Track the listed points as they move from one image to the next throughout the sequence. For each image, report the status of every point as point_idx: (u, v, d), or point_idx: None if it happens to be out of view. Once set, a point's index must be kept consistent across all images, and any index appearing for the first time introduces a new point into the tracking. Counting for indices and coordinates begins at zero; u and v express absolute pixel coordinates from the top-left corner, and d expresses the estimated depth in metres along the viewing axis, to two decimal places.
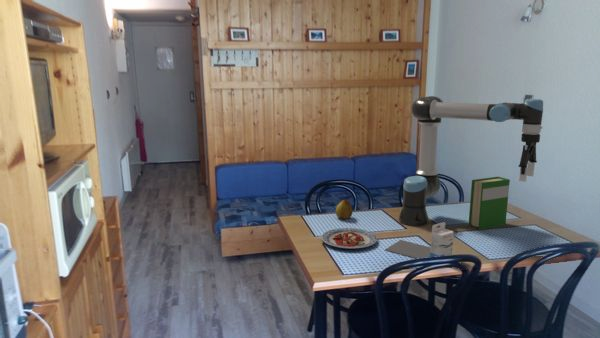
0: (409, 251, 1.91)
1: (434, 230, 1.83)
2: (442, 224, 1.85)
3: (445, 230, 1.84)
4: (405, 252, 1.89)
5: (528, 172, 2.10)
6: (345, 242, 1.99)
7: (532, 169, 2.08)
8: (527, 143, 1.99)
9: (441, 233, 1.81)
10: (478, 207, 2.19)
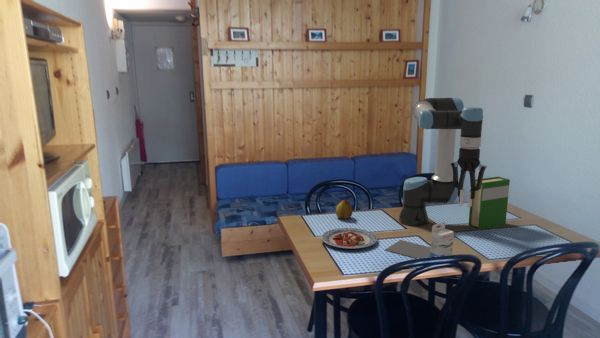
0: (409, 251, 1.91)
1: (434, 230, 1.83)
2: (442, 224, 1.85)
3: (445, 230, 1.84)
4: (405, 252, 1.89)
5: None
6: (345, 242, 1.99)
7: None
8: None
9: (441, 233, 1.81)
10: (478, 207, 2.19)
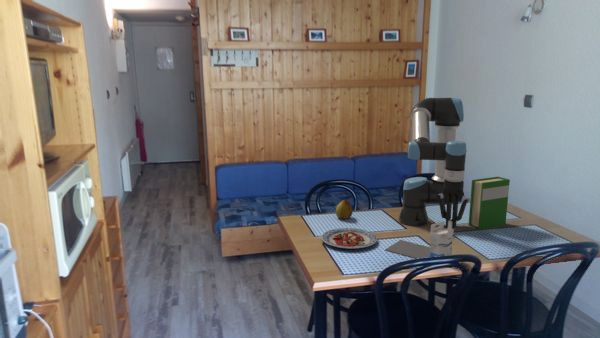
0: (409, 251, 1.91)
1: (433, 229, 1.83)
2: (440, 223, 1.86)
3: (444, 229, 1.84)
4: (405, 252, 1.89)
5: None
6: (345, 242, 1.99)
7: None
8: None
9: (440, 232, 1.81)
10: (478, 207, 2.19)
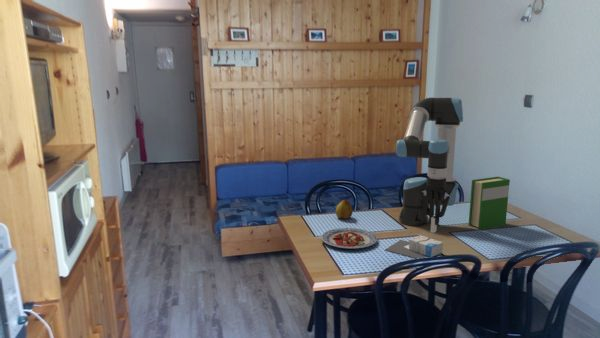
0: (409, 251, 1.91)
1: None
2: None
3: None
4: (405, 252, 1.89)
5: None
6: (345, 242, 1.99)
7: None
8: None
9: None
10: (478, 207, 2.19)
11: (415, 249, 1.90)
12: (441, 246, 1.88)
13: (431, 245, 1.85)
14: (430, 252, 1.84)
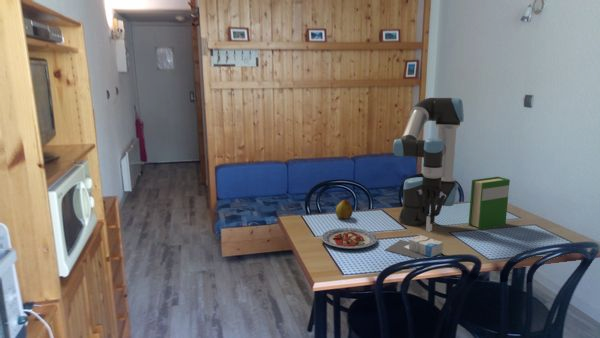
0: (409, 251, 1.91)
1: None
2: None
3: None
4: (405, 252, 1.89)
5: None
6: (345, 242, 1.99)
7: None
8: None
9: None
10: (478, 207, 2.19)
11: (415, 249, 1.90)
12: (441, 246, 1.88)
13: (431, 245, 1.85)
14: (430, 252, 1.84)
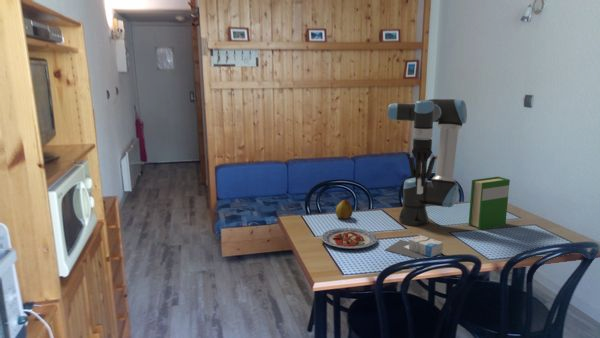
0: (409, 251, 1.91)
1: None
2: None
3: None
4: (405, 252, 1.89)
5: None
6: (345, 242, 1.99)
7: None
8: None
9: None
10: (478, 207, 2.19)
11: (415, 249, 1.90)
12: (441, 246, 1.88)
13: (431, 245, 1.85)
14: (430, 252, 1.84)
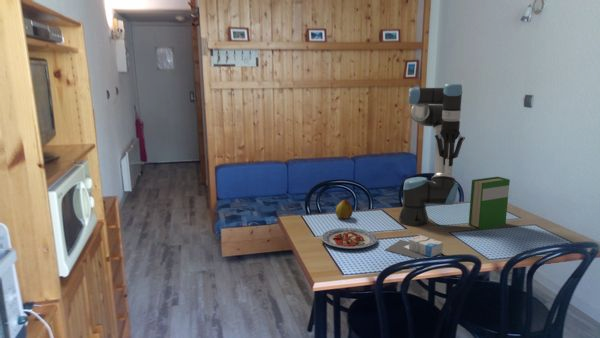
0: (409, 251, 1.91)
1: None
2: None
3: None
4: (405, 252, 1.89)
5: None
6: (345, 242, 1.99)
7: None
8: None
9: None
10: (478, 207, 2.19)
11: (415, 249, 1.90)
12: (441, 246, 1.88)
13: (431, 245, 1.85)
14: (430, 252, 1.84)
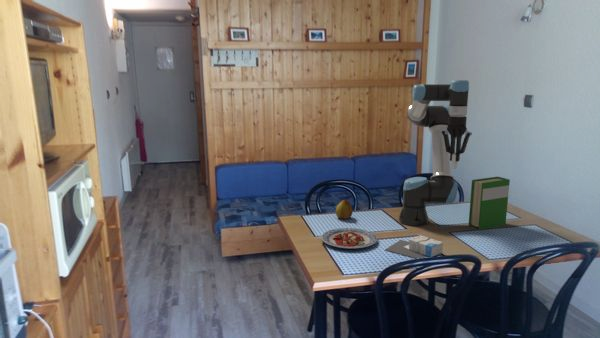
0: (409, 251, 1.91)
1: None
2: None
3: None
4: (405, 252, 1.89)
5: None
6: (345, 242, 1.99)
7: None
8: None
9: None
10: (478, 207, 2.19)
11: (415, 249, 1.90)
12: (441, 246, 1.88)
13: (431, 245, 1.85)
14: (430, 252, 1.84)
